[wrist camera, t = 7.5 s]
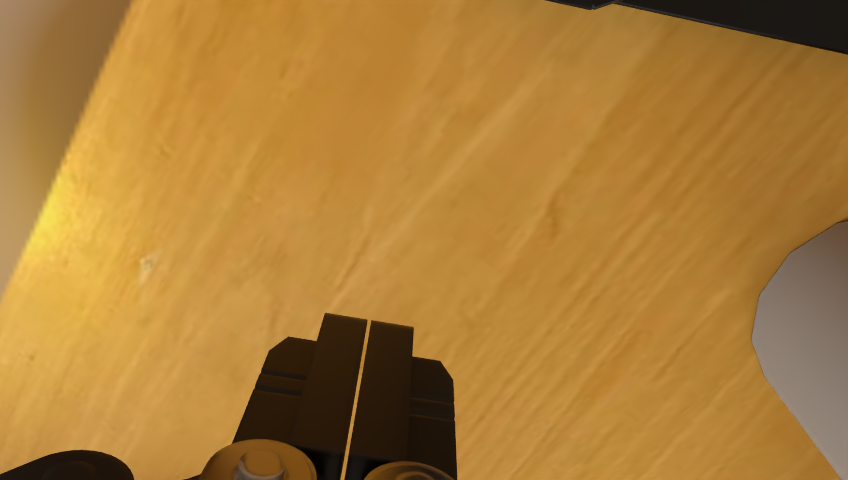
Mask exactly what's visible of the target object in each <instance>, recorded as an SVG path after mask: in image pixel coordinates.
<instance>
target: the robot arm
mask: <svg viewBox="0 0 848 480" xmlns="http://www.w3.org/2000/svg"><path fill="white" fill-rule="evenodd" d="M367 321H368V320H366V319H360V318H354V317H348V316H342V315H336V314H330V313H325V315H324V318H323V322H322V325H321V328H320V332H319V335H318V339H317V341H312V340H306V339H300V338H294V337H287V338H286V339H284V340H283V341H282V342H280V343H279V344H278V345H276V346H275V347H274V348H272V349H271V350H270V351H269V352H268V355H267V357H266V360H265V362H264V365H263V367H262V370H261V373H260V375H259V377H258V380H257V382H256V385H255V389H254V390H253V392H252V395H251V397H250V400H249V402H248V405H247V407H246V410H245V412H244V415H243V417H242V420H241V422H240V425H239V427H238V430H237V432H236V435H235V437H234V440H233V442H232V444H231V445H228V446H226V447H224V448H222V449H221V450H219V451H218V452H216V453H215V454H214V455H213V456H212V457H211V458H210V460H209V461H208V463H207V464H206V466H205V468H204V469H203V471H202V473H201V474H200V475H197V476H194V477H191V478H189V479H184V480H340V479H341V473H342V467H343V462H344V456H345V450H346V445H347V439H348V433H349V427H350V421H351V416H352V410H353V404H354V398H355V392H356V386H357V380H358V374H359V368H360V362H361V356H362V351H363V345H364V339H365V333H366V327H367ZM413 332H414V327H410V326H404V325H398V324H392V323H386V322H379V321H373V320H371V326H370V332H369V338H368V344H367V350H366V355H365V361H364V367H363V373H362V379H361V385H360V391H359V396H358V402H357V408H356V414H355V420H354V426H353V432H352V438H351V444H350V450H349V456H348V462H347V468H346V474H345V480H457V461H456V436H455V421H454V417H455V412H454V404H453V403H454V387H453V379H452V378H451V376H450V375H449V373H448V372H447V370H446V369H445V367H444V366H443V364H442V363H441V361H437V360H431V359H425V358H419V357H413V356H412V350H413ZM0 480H134V477H133V474H132V472H131V470H130V469H129V468H128V466H127V465H126V464H125V463H123V462H122V461H121V460H119V459H118V458H116V457H114V456H112V455H109V454H106V453H102V452H97V451H89V450H71V451H64V452H59V453H54V454H50V455H47V456H44V457H42V458H39V459H36V460H34V461H32V462H29V463H27V464H24V465H22V466H19V467H17V468H14V469H12V470H10V471H7V472H5V473H2V474H0Z"/></svg>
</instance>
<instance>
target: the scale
mask: <svg viewBox="0 0 848 480" xmlns="http://www.w3.org/2000/svg"><path fill="white" fill-rule="evenodd" d="M546 1H551V2H555V3H560V4H564V5H569V6H574V7H578V8H583V9H588V10H592V9H598V8H601V7H604V6H607V5H610V4H617V5H622V6H627V7H631V8H636V9H640V10H645V11H650V12H654V13H659V14H663V15H668V16H672V17H677V18H682V19H686V20H691V21H695V22H700V23H705V24H709V25H714V26H718V27H723V28H727V29H732V30H737V31H741V32H746V33H750V34H755V35H760V36H764V37H769V38H773V39H778V40H783V41H787V42H792V43H796V44H801V45H805V46H810V47H815V48H819V49H824V50H828V51H833V52H838V53H842V54H847V55H848V0H546Z"/></svg>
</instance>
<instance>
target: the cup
mask: <svg viewBox="0 0 848 480" xmlns="http://www.w3.org/2000/svg"><path fill="white" fill-rule="evenodd" d="M751 340H752V343H753V346H754V348H755V351H756V354H757V357H758V359H759V362H760V365H761V367H762V370H763V373H764V376H765V378H766V380H767V381H768V382H769V384H770V385H771V386H772V388H773V389H774V390H775V392H776V393H777V394H778V396H779V397H780V398H781V400H782V401H783V402H784V404H785V405H786V406H787V408H788V409H789V410H790V412H791V413H792V414H793V416H794V417H795V418H796V420H797V421H798V422H799V424H800V425H801V426H802V428H803V429H804V430H805V431H806V433H807V434H808V435H809V437H810V438H811V439H812V441H813V442H814V443H815V445H816V446H817V447H818V449H819V450H820V451H821V453H822V454H823V455H824V457H825V458H826V459H827V461H828V462H829V463H830V465H831V466H832V467H833V469H834V470H835V471H836V473H837V474H838V475H839V477H840V478H841V479H842V480H848V221H845V222H840V223H837V224H835V225H834V226H832V227H830V228H829V229H827V230H826V231H824V232H823V233H821V234H819V235H818V236H816V237H815V238H813V239H811V240H810V241H808V242H807V243H805V244H804V245H802V246H800V247H799V248H797V249H796V250H794V251H793V252H791V253H790V254H789V255H788V257H787V258H786V259H785V261H784V262H783V263H782V265H781V266H780V268H779V269H778V270H777V272H776V273H775V274H774V276H773V277H772V279H771V280H770V281H769V283H768V284H767V286H766V287H765V288H764V290H763V291H762V292H761V294H760V295H759V301H758V306H757V312H756V317H755V322H754V328H753V333H752V339H751Z"/></svg>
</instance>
